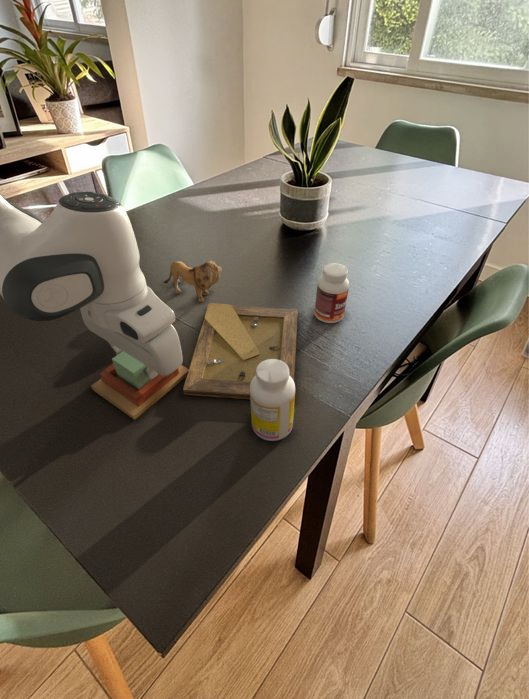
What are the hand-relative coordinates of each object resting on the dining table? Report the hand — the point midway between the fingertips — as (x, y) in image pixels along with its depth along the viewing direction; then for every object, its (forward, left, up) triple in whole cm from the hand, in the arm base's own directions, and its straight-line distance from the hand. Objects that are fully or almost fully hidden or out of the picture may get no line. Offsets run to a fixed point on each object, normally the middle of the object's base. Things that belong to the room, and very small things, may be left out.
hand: (138, 366), depth 73 cm
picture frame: (+17, -10, -4) cm, 20 cm away
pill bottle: (+36, -17, -4) cm, 40 cm away
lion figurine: (+25, +11, -4) cm, 28 cm away
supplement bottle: (+6, -24, -4) cm, 25 cm away
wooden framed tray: (0, 0, -4) cm, 4 cm away
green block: (0, 0, -2) cm, 2 cm away
